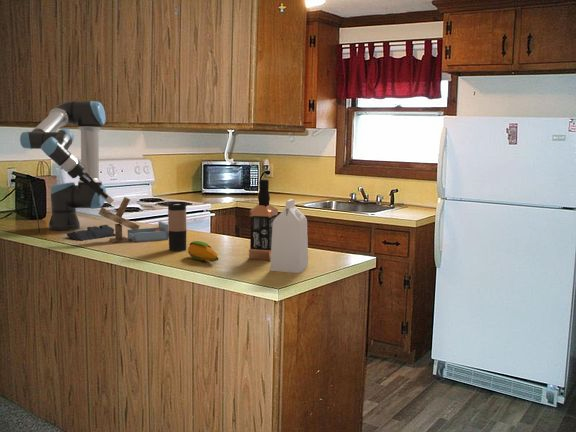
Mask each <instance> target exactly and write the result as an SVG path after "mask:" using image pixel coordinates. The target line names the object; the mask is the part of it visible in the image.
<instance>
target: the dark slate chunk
mask: <svg viewBox="0 0 576 432" xmlns="http://www.w3.org/2000/svg"><path fill="white" fill-rule="evenodd" d="M114 231H115V228H114V227H112V226H109V225H108V224H103V225H102V224H101V225H99V226H95V225H93V226H87V228H86V229H83V230H76V231H72V232H67V233H66V237H68V238H70V239H71V238H72V239H73V240H76V241H78V240H79V242H80V241H81V242H83V240H85V241H88V240H89V241H91V240H99V239H104V238H105V237H106V238H113V237H115V232H114Z"/></svg>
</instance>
